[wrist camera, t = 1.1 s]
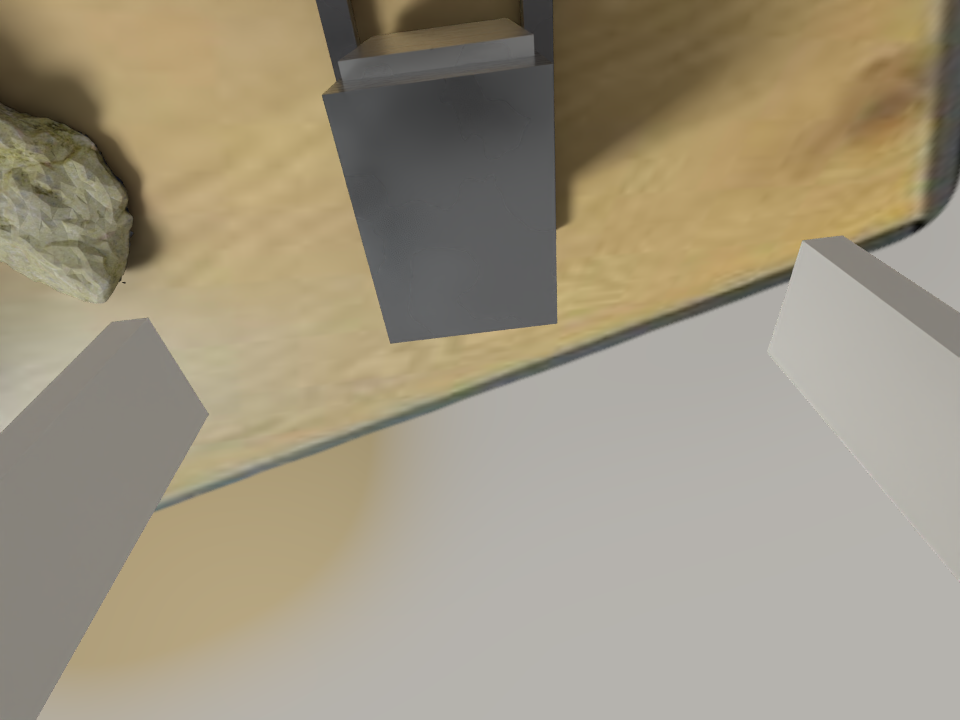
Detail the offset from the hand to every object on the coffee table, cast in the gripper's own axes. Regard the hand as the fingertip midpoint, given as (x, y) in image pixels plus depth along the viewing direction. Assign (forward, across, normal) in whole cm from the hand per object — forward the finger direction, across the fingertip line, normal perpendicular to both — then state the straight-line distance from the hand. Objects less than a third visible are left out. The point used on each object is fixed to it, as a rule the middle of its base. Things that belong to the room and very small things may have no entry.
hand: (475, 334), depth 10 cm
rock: (+17, -22, +1) cm, 28 cm away
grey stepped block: (+17, 0, 0) cm, 17 cm away
